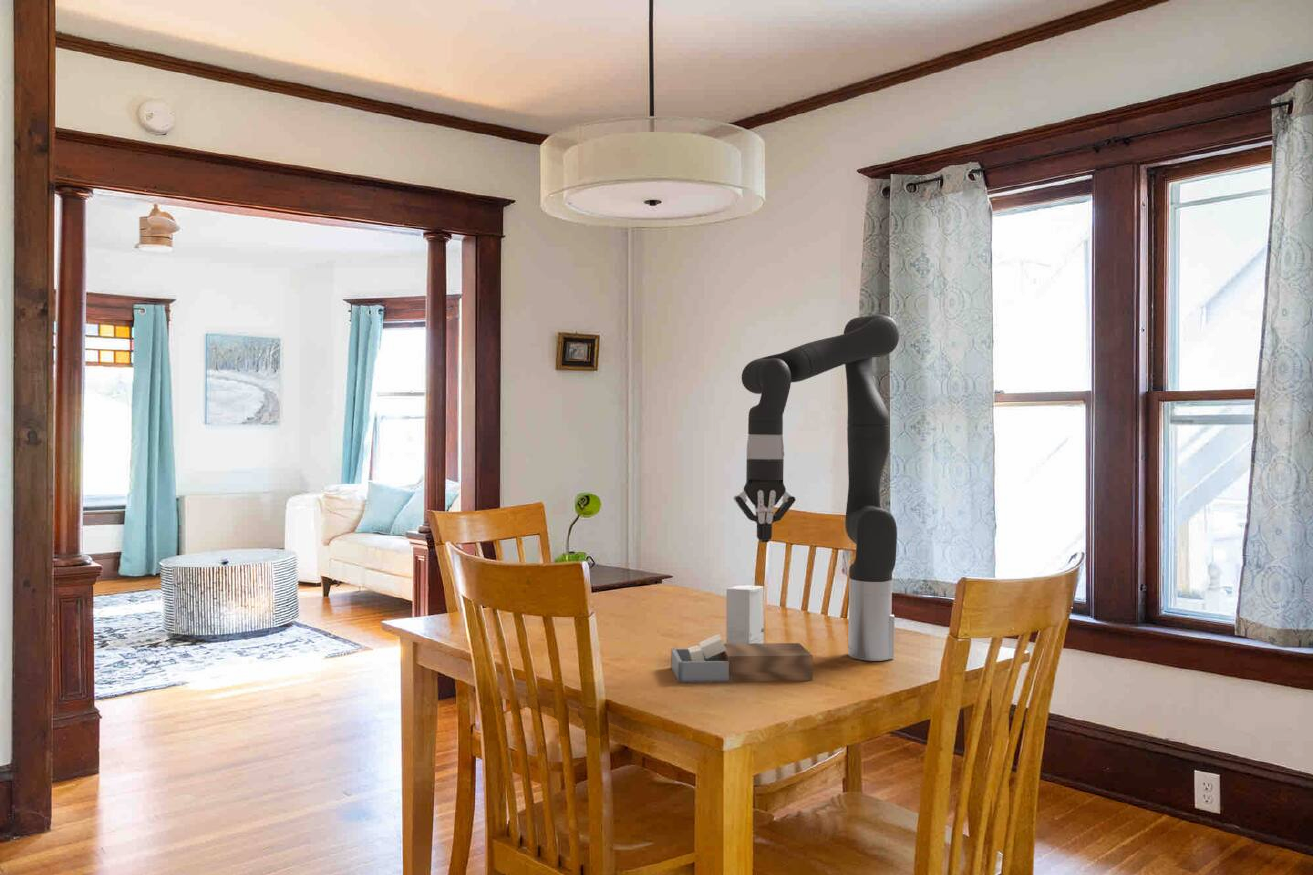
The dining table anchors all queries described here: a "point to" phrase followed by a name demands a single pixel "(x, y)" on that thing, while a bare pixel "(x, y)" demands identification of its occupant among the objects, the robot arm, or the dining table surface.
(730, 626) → the skincare box
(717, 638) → the tile
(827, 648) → the dining table surface
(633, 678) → the dining table surface
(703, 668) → the tray
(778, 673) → the brown wooden block
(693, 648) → the tile
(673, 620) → the dining table surface
